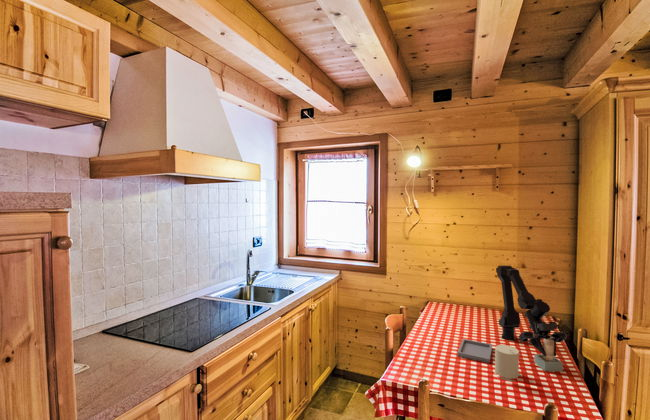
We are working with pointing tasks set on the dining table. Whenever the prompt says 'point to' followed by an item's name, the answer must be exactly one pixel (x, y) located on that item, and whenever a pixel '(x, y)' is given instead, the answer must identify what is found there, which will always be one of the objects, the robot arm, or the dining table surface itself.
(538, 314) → the robot arm
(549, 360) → the dowel
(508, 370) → the can
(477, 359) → the tray
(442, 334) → the dining table surface
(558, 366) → the grey square bin
